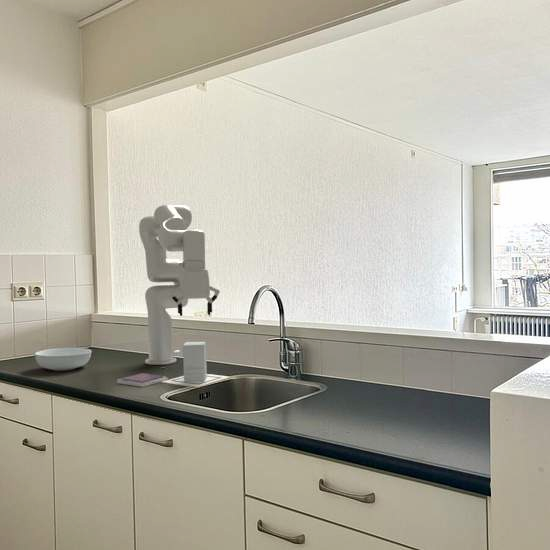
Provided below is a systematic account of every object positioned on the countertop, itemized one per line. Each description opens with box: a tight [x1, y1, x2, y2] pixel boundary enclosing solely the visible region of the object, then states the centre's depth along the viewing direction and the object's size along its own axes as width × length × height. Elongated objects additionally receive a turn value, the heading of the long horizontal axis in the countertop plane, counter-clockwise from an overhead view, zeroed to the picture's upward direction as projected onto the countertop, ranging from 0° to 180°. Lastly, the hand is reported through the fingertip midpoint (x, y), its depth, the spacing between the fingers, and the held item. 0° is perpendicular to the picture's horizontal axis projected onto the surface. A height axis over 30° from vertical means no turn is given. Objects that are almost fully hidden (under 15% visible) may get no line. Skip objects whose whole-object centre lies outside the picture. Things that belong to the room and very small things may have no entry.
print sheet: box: [160, 373, 231, 389], centre depth 199 cm, size 18×16×1 cm
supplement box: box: [182, 341, 208, 381], centre depth 199 cm, size 7×7×13 cm
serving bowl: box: [34, 347, 92, 372], centre depth 225 cm, size 21×21×7 cm
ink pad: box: [116, 373, 168, 388], centre depth 198 cm, size 12×12×2 cm
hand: (195, 315), depth 198 cm, fingers open, 9 cm apart
